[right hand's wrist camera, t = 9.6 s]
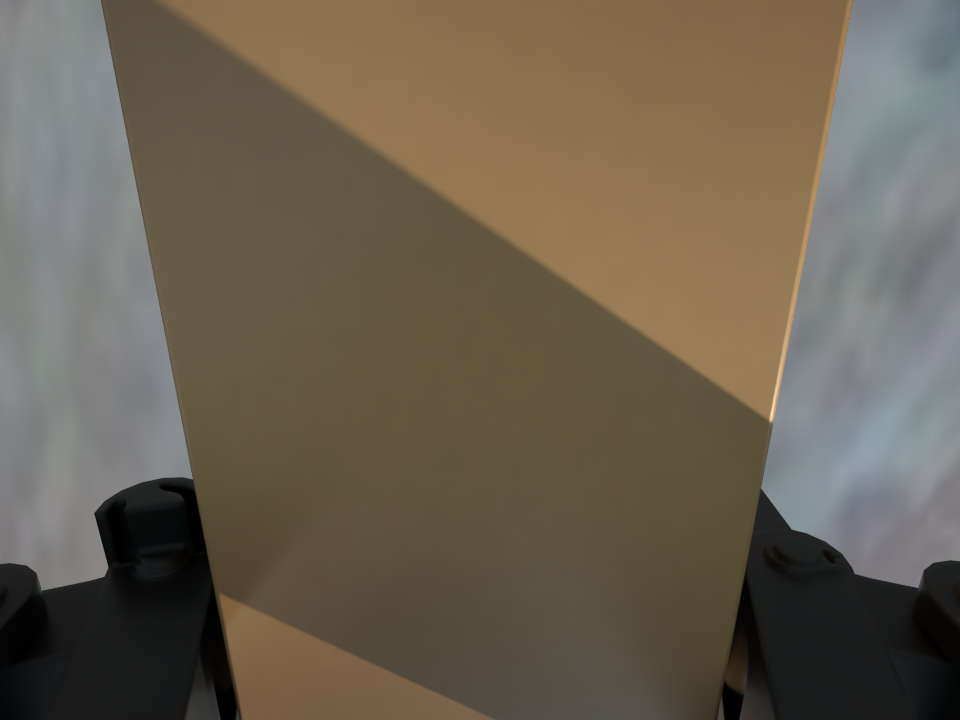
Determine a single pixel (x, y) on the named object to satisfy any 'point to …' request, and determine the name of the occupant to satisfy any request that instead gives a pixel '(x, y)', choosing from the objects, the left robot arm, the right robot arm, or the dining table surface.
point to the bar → (477, 333)
